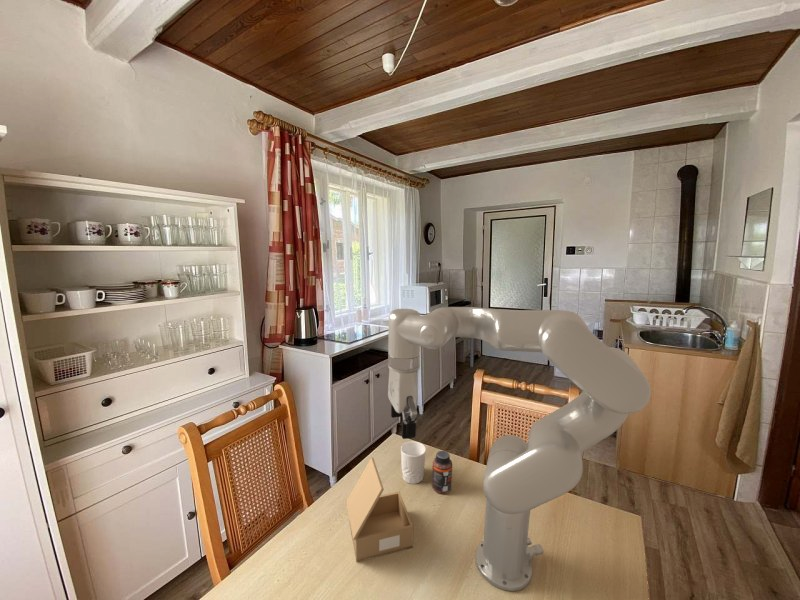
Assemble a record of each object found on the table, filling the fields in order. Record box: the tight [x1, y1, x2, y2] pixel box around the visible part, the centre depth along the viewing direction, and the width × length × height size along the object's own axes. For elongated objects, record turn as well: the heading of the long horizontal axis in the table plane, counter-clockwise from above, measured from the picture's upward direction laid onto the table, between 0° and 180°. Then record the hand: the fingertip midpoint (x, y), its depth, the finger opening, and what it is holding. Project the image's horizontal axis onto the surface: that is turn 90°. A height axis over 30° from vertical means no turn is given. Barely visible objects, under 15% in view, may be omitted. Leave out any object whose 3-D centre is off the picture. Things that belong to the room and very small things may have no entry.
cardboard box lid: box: [346, 457, 385, 540], centre depth 84 cm, size 14×12×1 cm
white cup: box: [400, 440, 427, 485], centre depth 108 cm, size 8×8×10 cm
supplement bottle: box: [431, 450, 453, 495], centre depth 103 cm, size 6×6×11 cm
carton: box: [348, 491, 414, 563], centre depth 87 cm, size 14×12×6 cm
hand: (402, 426), depth 84 cm, fingers open, 9 cm apart
